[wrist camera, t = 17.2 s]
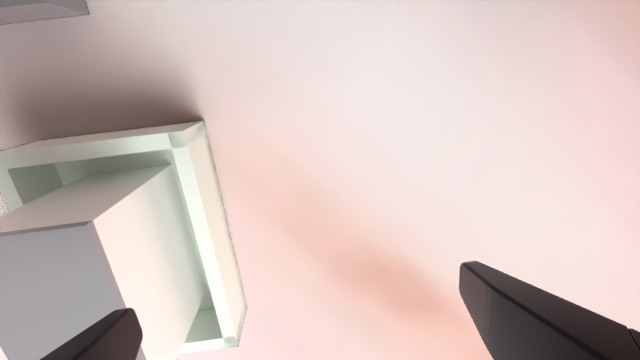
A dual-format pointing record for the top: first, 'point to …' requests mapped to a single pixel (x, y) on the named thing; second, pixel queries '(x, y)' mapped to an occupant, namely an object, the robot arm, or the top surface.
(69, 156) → the tray
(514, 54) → the top surface
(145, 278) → the grey rectangular block
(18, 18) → the dock
